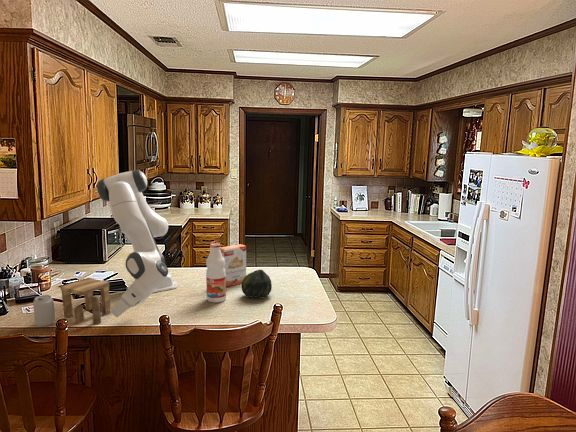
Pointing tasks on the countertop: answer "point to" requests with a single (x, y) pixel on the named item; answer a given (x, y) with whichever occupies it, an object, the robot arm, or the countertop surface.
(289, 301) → the countertop surface
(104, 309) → the stool
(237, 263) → the cracker box
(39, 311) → the can
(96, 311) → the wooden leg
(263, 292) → the squash
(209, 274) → the fruit juice
